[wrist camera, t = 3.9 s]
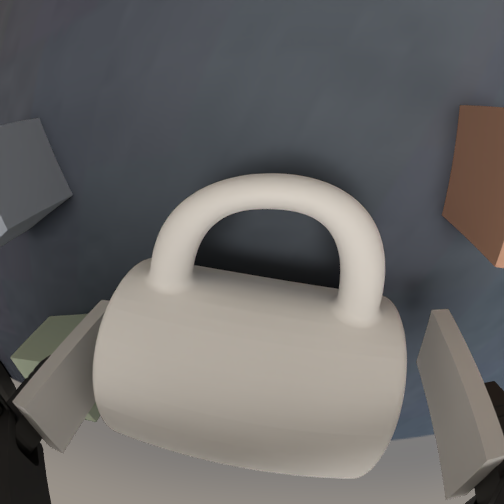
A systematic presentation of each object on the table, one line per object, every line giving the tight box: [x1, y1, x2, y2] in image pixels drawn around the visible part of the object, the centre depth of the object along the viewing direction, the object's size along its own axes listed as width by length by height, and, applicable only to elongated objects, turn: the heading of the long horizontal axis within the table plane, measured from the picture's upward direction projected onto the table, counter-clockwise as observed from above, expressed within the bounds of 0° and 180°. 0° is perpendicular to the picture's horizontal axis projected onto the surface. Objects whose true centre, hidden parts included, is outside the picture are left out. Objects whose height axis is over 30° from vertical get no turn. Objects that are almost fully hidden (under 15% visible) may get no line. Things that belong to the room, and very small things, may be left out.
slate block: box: [0, 118, 73, 247], centre depth 12 cm, size 5×5×5 cm
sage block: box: [10, 314, 100, 422], centre depth 17 cm, size 5×5×5 cm
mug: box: [93, 173, 407, 478], centre depth 11 cm, size 12×10×8 cm
